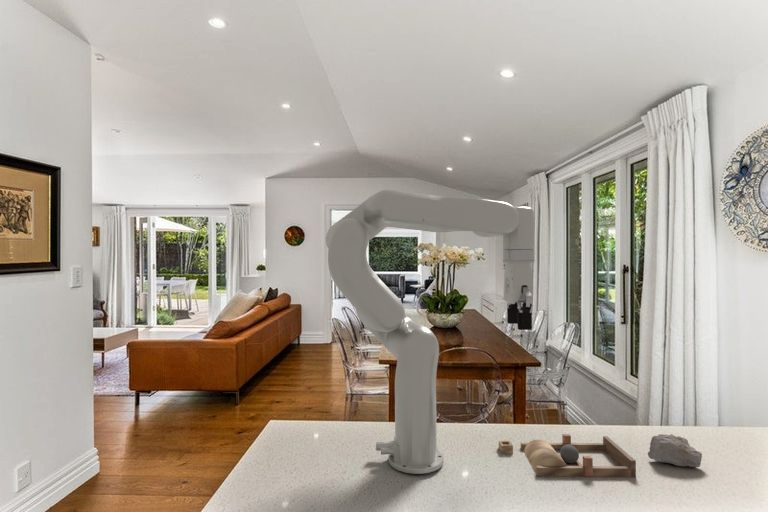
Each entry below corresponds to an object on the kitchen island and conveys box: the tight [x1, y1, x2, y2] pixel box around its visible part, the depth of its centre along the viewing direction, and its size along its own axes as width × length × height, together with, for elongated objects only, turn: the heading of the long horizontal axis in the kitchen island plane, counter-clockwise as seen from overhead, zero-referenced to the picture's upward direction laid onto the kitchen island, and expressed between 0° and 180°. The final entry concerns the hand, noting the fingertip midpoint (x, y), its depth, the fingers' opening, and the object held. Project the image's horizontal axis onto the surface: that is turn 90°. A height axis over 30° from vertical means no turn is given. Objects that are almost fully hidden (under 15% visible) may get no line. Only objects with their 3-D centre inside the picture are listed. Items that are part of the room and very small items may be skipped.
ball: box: [559, 445, 580, 464], centre depth 102 cm, size 4×4×4 cm
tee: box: [498, 440, 514, 455], centre depth 108 cm, size 3×3×2 cm
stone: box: [647, 433, 703, 468], centre depth 101 cm, size 8×10×6 cm
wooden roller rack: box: [520, 433, 637, 478], centre depth 102 cm, size 21×13×9 cm, turn 88°
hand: (519, 326), depth 110 cm, fingers open, 9 cm apart
